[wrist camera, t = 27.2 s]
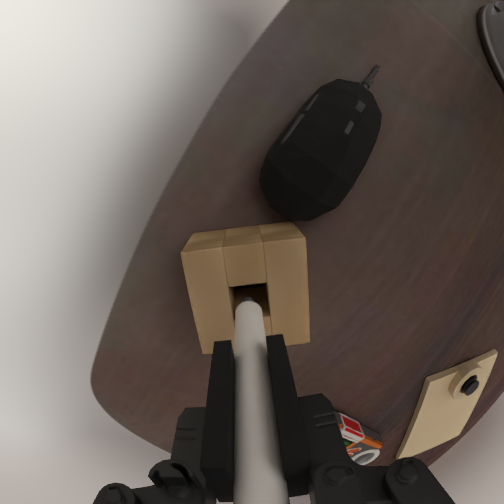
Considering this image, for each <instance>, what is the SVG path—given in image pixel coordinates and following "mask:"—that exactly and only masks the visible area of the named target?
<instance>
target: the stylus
mask: <svg viewBox="0 0 504 504" xmlns="http://www.w3.org/2000/svg"><path fill="white" fill-rule="evenodd" d="M234 358H235V378H234V485H233V504H290V502H289V494H288V487H287V482H286V480H285V478H284V470H283V463H282V456H281V448H280V441H279V434H278V427H277V419H276V412H275V405H274V398H273V390H272V383H271V376H270V369H269V361H268V354H267V345H266V335H265V328H264V322H263V315H262V309H261V307H260V306H259V305H258V304H257V303H255V302H253V299H252V298H251V297H245V298H244V299H243V303H241V304H240V305H238V307H237V308H236V311H235V353H234Z"/></svg>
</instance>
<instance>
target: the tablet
mask: <svg viewBox="0 0 504 504" xmlns="http://www.w3.org/2000/svg"><path fill="white" fill-rule="evenodd" d="M497 354H498V352H497V351H496V350H495V349H493V350H491V351H488V352H486V353H484V354H482V355H480V356H478V357H475V358H473V359H471V360H469V361H466V362H464V363H462V364H459V365H457V366H454V367H452V368H449V369H447V370H444V371H441V372H439V373H436V374H433V375H431V376H428V377H426V379H425V382H424V385H423V388H422V391H421V394H420V397H419V400H418V403H417V406H416V409H415V411H414V414H413V417H412V419H411V422H410V424H409V427H408V429H407V432H406V434H405V436H404V439H403V441H402V443H401V446H400V448H399V450H398V452H397V454H396V460H397V459H401V458H404V457H411V456H414V455H416V454H419V453H421V452H423V451H426V450H428V449H430V448H433V447H435V446H437V445H439V444H442V443H444V442H446V441H448V440H450V439H452V438H454V437H456V436H458V435H459V434H460V433H461V431H462V429H463V427H464V426H465V424H466V422H467V420H468V418H469V417H470V415H471V413H472V411H473V409H474V407H475V405H476V403H477V401H478V399H479V397H480V395H481V393H482V390H483V388H484V386H485V384H486V382H487V379H488V377H489V375H490V372H491V370H492V367H493V365H494V362H495V360H496V357H497ZM471 376H474V377H475V378H476V379H477V380H478V381H479V386H478V388H477V389H476V390H475V391H474V392H473V393H472V394H471V395H469V396H466V395H465V394H464V392H463V391H462V390H461V387H462V385H463V384H464V382H465V381H466V380H467V379H468V378H470V377H471Z"/></svg>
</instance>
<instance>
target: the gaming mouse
mask: <svg viewBox="0 0 504 504" xmlns="http://www.w3.org/2000/svg"><path fill="white" fill-rule="evenodd" d="M379 69H380V67H379V66H378V65H376V66H375V68H374V69H373V71H372V72H371V74H370V75H369V77H368V78H365V80H364V82H363V84H362V85H361V84H359V83H356V82H351V81H346V80H341V79H336V80H334V81H332V82H330V83H328V84H326V85H323V86H322V87H320V88H319V89H318V90H317V91H316V92H315V93H314V94H313V95H312V96H311V97H310V99H309V100H308V101H307V102H306V103H305V104H304V106H303V107H302V108H301V109H300V111H299V112H298V113H297V115H296V116H295V117H294V119H293V120H292V121H291V122H290V124H289V125H288V126H287V127H286V128H285V129H284V131H283V132H282V133H281V134H280V135H279V137H278V138H277V140H276V141H275V142H274V144H273V145H272V146H271V148H270V149H269V151H268V153H267V155H266V158H265V161H264V164H263V167H262V169H261V174H260V185H261V189H262V191H263V193H264V195H265V197H266V200H267V202H268V204H269V206H270V207H271V208H273V209H274V210H276V211H277V212H279V213H280V214H282V215H283V216H285V217H286V218H288V219H289V220H301V221H310V220H313V219H315V218H317V217H319V216H321V215H323V214H325V213H327V212H329V211H331V210H333V209H335V208H337V207H338V206H339V205H340V203H341V202H342V201H343V199H344V198H345V197H346V195H347V194H348V192H349V191H350V190H351V188H352V187H353V185H354V183H355V181H356V180H357V178H358V176H359V174H360V173H361V171H362V169H363V168H364V166H365V164H366V162H367V160H368V158H369V156H370V153H371V151H372V149H373V147H374V145H375V142H376V139H377V136H378V133H379V130H380V126H381V116H382V114H381V111H380V109H379V107H378V105H377V103H376V101H375V99H374V96H373V94H372V93H371V92H369V91H368V88H369V87H370V86H371V84H372V82H373V81H372V80H373V78H374V77H375V75H376V73H377V72H378V70H379Z"/></svg>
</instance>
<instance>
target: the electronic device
mask: <svg viewBox="0 0 504 504" xmlns="http://www.w3.org/2000/svg"><path fill="white" fill-rule="evenodd" d="M334 414H335V416H336V419H337V423H338V425H339V428H340V431H341V434H342V437H343V440H344V443H345V446H346V449H347V452H348V454H349V456H350V458H351V459H352V460H353V461H355V462H356V463H358V464H360V465H365V464H367V463H369V462H371V461H373V460H374V459H375V458H376V457H377V456H378V455H379V453H380V452H379V448H380V447H382V446H383V441H382V439H381V437H380V435H379V433H377V432H375V431H373V430H371V429H369V428H367V427H365V426H363V425H361V424H359V422H358V421H356V420H354V419H352V418H350V417H348V416H346V415H344V414H342V413H340V412H336V411H334Z"/></svg>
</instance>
